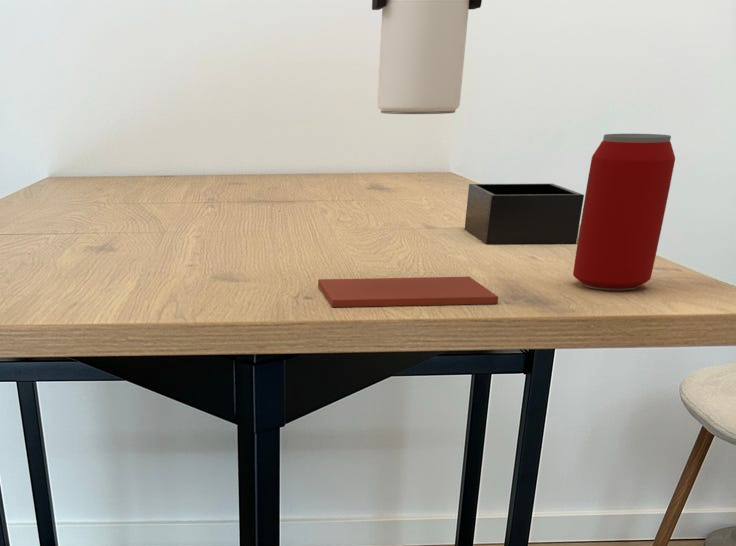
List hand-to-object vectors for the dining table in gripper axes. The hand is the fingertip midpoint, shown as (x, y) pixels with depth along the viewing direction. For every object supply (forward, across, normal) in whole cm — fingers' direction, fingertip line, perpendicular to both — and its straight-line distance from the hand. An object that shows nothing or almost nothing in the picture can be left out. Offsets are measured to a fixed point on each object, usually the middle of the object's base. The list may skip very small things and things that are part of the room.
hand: (425, 6), depth 71 cm
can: (+7, 0, 0) cm, 7 cm away
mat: (+21, 0, 0) cm, 21 cm away
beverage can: (+21, +19, +3) cm, 29 cm away
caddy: (+21, +18, +34) cm, 44 cm away
